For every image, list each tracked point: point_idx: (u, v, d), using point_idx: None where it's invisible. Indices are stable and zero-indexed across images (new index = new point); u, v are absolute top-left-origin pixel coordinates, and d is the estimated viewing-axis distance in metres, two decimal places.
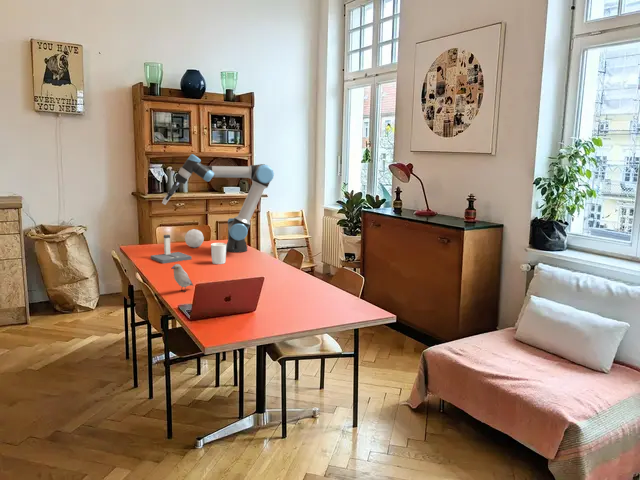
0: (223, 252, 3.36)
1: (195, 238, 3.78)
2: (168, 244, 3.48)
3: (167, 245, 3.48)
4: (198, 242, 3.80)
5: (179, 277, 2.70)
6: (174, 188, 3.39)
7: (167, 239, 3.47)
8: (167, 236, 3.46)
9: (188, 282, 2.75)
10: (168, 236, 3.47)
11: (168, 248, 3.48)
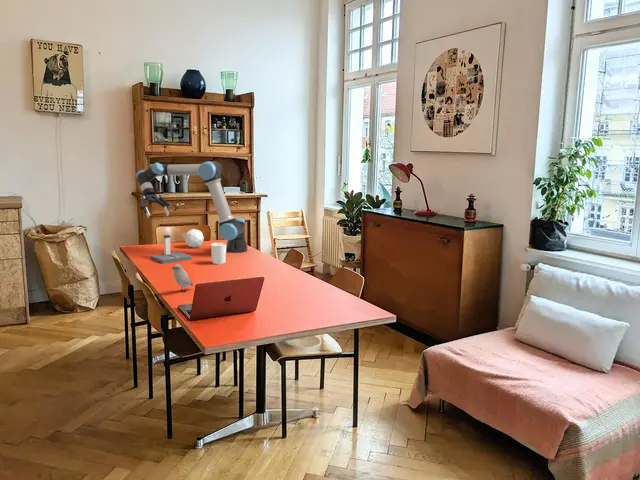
0: (223, 252, 3.36)
1: (195, 238, 3.78)
2: (168, 244, 3.48)
3: (167, 245, 3.48)
4: (198, 242, 3.80)
5: (179, 277, 2.70)
6: (141, 201, 3.52)
7: (167, 239, 3.47)
8: (167, 236, 3.46)
9: (188, 282, 2.75)
10: (168, 236, 3.47)
11: (168, 248, 3.48)
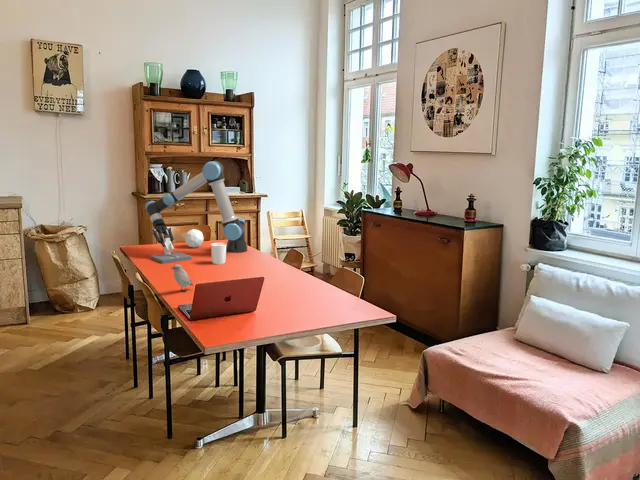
0: (223, 252, 3.36)
1: (195, 238, 3.78)
2: (168, 244, 3.48)
3: (167, 245, 3.48)
4: (198, 242, 3.80)
5: (179, 277, 2.70)
6: (155, 235, 3.47)
7: (167, 239, 3.47)
8: (167, 236, 3.46)
9: (188, 282, 2.75)
10: (168, 236, 3.47)
11: (168, 248, 3.48)
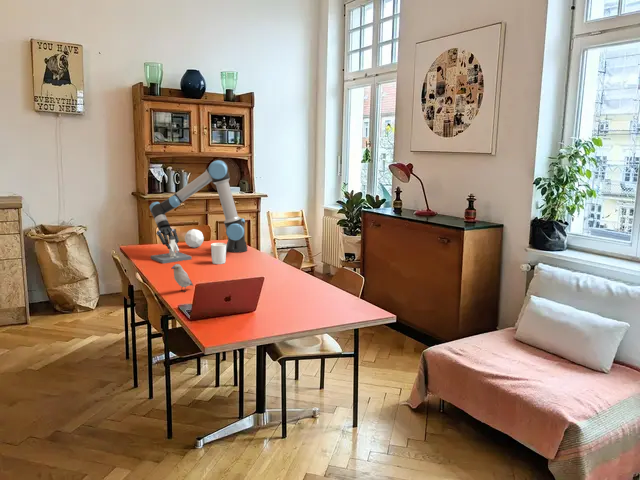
0: (223, 252, 3.36)
1: (195, 238, 3.78)
2: (173, 246, 3.43)
3: (172, 247, 3.42)
4: (198, 242, 3.80)
5: (179, 277, 2.70)
6: (160, 237, 3.42)
7: (172, 241, 3.42)
8: (172, 238, 3.41)
9: (188, 282, 2.75)
10: (173, 238, 3.42)
11: (173, 250, 3.43)
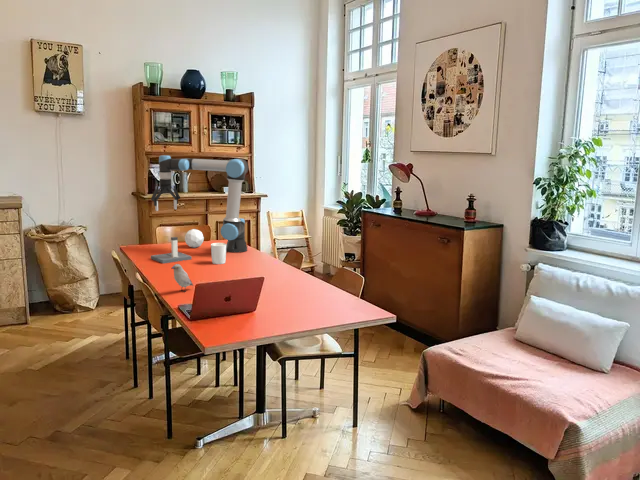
0: (223, 252, 3.36)
1: (195, 238, 3.78)
2: (175, 247, 3.41)
3: (174, 248, 3.40)
4: (198, 242, 3.80)
5: (179, 277, 2.70)
6: (154, 192, 3.56)
7: (174, 241, 3.40)
8: (174, 238, 3.39)
9: (188, 282, 2.75)
10: (175, 238, 3.40)
11: (175, 251, 3.41)
